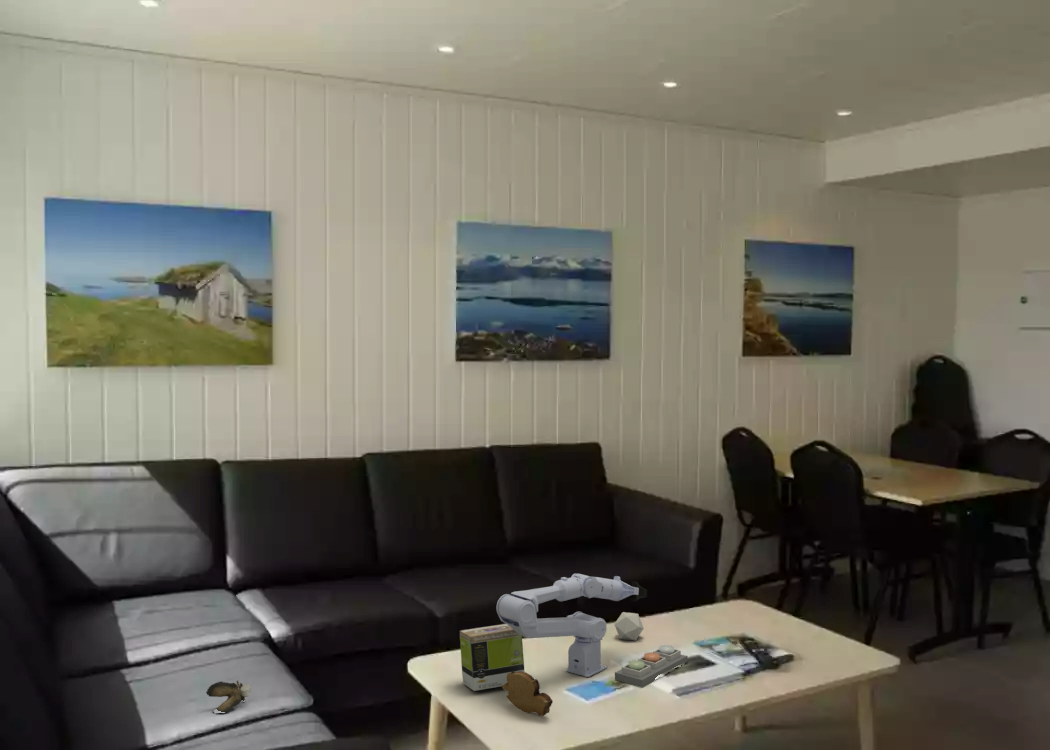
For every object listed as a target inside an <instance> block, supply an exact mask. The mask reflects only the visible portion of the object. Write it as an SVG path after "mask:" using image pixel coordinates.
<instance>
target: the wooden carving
mask: <svg viewBox="0 0 1050 750" xmlns="http://www.w3.org/2000/svg"><path fill="white" fill-rule="evenodd" d="M507 682H508V683H506V684H504V685H502V686H501V688H502V689H503V690H505V691H507V695H506V696H505V697H506V699H507V700H508V701H509V702H510V703H511V705H513V706H514V707H515V708H516V709H518V710H519V711H521V712H523V713H525V714H532V713H535V714H536V715H538V716H539V717H545V716H546V715H547V714H549V713H550V708H551V707H552V704H553V699H552V698H551V696H549V694H547V693H546V692H540V688H541V686H540V683H539V680H538V678H534V677H533V676H532V675H531V674H530V673H528V672H526V671H525V672H522V671H518V672H515V671H513V672H511V673H508V674H507Z"/></svg>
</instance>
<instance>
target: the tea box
mask: <svg viewBox="0 0 1050 750" xmlns="http://www.w3.org/2000/svg"><path fill="white" fill-rule="evenodd" d="M459 641H460V642H459V643H460V646H459V647H460V658H461V663H460V664H461V675H462V683H463V684H464V685H465V686H467V688H469V689H470V690H472V691H473V692H476V691H483V690H488V689H493V688H499V687H502V685H504V684H506V683H508V682H507V674H508V673H511V672H513V671H515V672H518V671H522V672H526V671H525V661H524V660H525V659H524V646H523V636H521V635H519V634H518V633H517V632H516V631H515V630H513V629H512V628H511V627H510V626H509V625H507V624H506V623H501V624H495V625H490V626H489V625H488V626H482V627H475V628H469V629H461V630H459Z"/></svg>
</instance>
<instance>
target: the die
mask: <svg viewBox="0 0 1050 750" xmlns="http://www.w3.org/2000/svg"><path fill="white" fill-rule="evenodd" d="M614 627H615V629H616V632H617V635H618V637H619V639H620V640H628V641H635V642H636V641H637V639H638V638H639V636H640V635H641V633H642V632H643V630H644V629H645V628H644V625H643V622H642V620H641V618H640V616H639V613H635V612H625V611H623V612H621V614H620V615H619V617H618V618H617V620H616V621H615V623H614Z"/></svg>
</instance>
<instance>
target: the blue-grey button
mask: <svg viewBox="0 0 1050 750" xmlns="http://www.w3.org/2000/svg"><path fill="white" fill-rule="evenodd" d="M658 649H659V653H663V654H667V655H671V654H673V653H675V652H674V649H675V647H674V646H673V645H669V644H664V645H660V646H658Z"/></svg>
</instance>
